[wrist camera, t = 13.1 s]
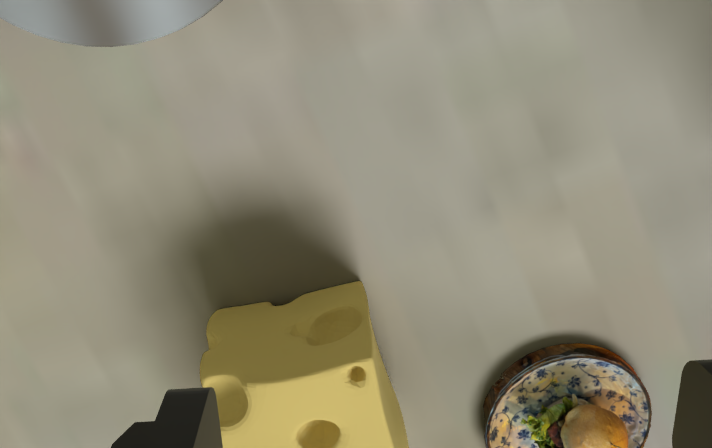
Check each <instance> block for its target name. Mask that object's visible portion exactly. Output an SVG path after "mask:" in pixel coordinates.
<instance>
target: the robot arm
mask: <svg viewBox="0 0 712 448" xmlns="http://www.w3.org/2000/svg"><path fill="white" fill-rule="evenodd" d="M672 445H673V448H712V360H695V361H689V362H687V363H686V365H685V366H684V368H683V371H682V376H681V383H680V389H679V396H678V402H677V409H676V415H675V422H674V428H673V435H672ZM111 448H223V444H222V437H221V429H220V421H219V413H218V406H217V398H216V393H215V390H214V388H213V387H206V388H189V389H171V390H168V391H167V392H166V394H165V396H164V399H163V401H162V404H161V407H160V409H159V412H158V415H157V417H156V420H155V421H151V422H135V423H134V424H133V425H132V426H131V427H130V428H129V429H128V430H127V431H125V432H124V433H123V434H122V435H121V436H120V437H119V438H118V439H117V440H116V441H115V442H114V443H113V444H112V446H111Z"/></svg>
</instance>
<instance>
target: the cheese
mask: <svg viewBox="0 0 712 448" xmlns="http://www.w3.org/2000/svg"><path fill="white" fill-rule="evenodd" d="M206 330H207V340H208V345H209V350H208V351H206V352H204V354H203V356H202V359H201V363H200V380H201V384H202V387H203V388H206V387H213V388H214V390H215V393H216V398H217V406H218V413H219V421H220V429H221V437H222V444H223V448H409V446H408V440H407V435H406V430H405V425H404V421H403V417H402V413H401V410H400V406H399V403H398V400H397V398H396V395H395V392H394V390H393V387H392V385H391V382H390V380H389V378H388V375H387V372H386V370H385V367H384V364H383V361H382V358H381V355H380V352H379V349H378V346H377V342H376V339H375V335H374V332H373V328H372V324H371V319H370V314H369V306H368V300H367V295H366V292H365V289H364V286H363V284H362V282H361V281H356V282H352V283H347V284H343V285H339V286H334V287H330V288H326V289H322V290H318V291H314V292H311V293H307V294H303V295H302V296H300V297H298V298H297V299H295V300H293V301H292V302H290V303H288V304H285V305H281V306H272V304H271V303H270V302H261V303H255V304H249V305H244V306H236V307H229V308H224V309H219V310H217V311H216V312H215V313H213V315H212V316H211V317H210V319H209V321H208V324H207V329H206Z"/></svg>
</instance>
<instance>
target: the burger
mask: <svg viewBox="0 0 712 448" xmlns="http://www.w3.org/2000/svg"><path fill="white" fill-rule="evenodd" d="M505 374H506V375H505ZM503 377H504V379H499V380H500V381H499V380H498V381H497V382H496V383H495V385H496V384H498V385H497V386H496V387H494V386H495V385H492V388H491V390H490V393H489V394H488V395H487V397H486V398H485V401H484V405H483V408H484V418H485V435H484V438H485V444H486V448H643V447H644V443H645V442H646V439H647V437H648V433H649V429H650V427H651V424H650V422H651V416H652V411H651V403H650V398H649V395H648V392H647V390H646V388H645V387H644V385H643V383H642V382H641V380H640V379H639V377H637V374H636V372H635V371H634V369H633V368H632V367H631V366H630V365H629V364H627V363H626V362H625V361H624V360H623V359H622V358H621V357H620V356H618V355H616V354H615V353H613V352H611V351H610V350H607V349H604V348H601V347H598V346H595V345H588V344H580V343H575V344H560V345H555V346H550V347H546V348H543V349H540V350H538V351H535V352H533V353H530V354H528V355H526V356H525V357H523V358H521V359H520V360H518V361H516V362H515V363H513V364H512V365H511V366H510V367H509V368H508V369H506V370H505V371H504V372H503ZM501 378H502V376H501Z"/></svg>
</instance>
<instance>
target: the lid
mask: <svg viewBox="0 0 712 448" xmlns="http://www.w3.org/2000/svg"><path fill="white" fill-rule="evenodd" d="M222 1H223V0H0V18H1V19H3V20H5V21H7V22H9V23H10V24H12V25H14V26H16V27H19V28H21V29H23V30H26V31H28V32H31V33H33V34H35V35H38V36H41V37H45V38H48V39H52V40H55V41H59V42H62V43H69V44H75V45H81V46H95V47H114V46H124V45H133V44H138V43H142V42H146V41H150V40H153V39H157V38H160V37H163V36H165V35H168V34H170V33H173V32H175V31H178V30H180V29H183V28H184V27H186V26H188V25H190V24H191V23H193V22H195V21H196V20H198V19H200V18H201V17H203V16H204V15H206V14H207V13H208V12H209V11H211V10H212V9H213V8H214V7H216V6H217V5H218V4H219V3H221V2H222Z"/></svg>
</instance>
